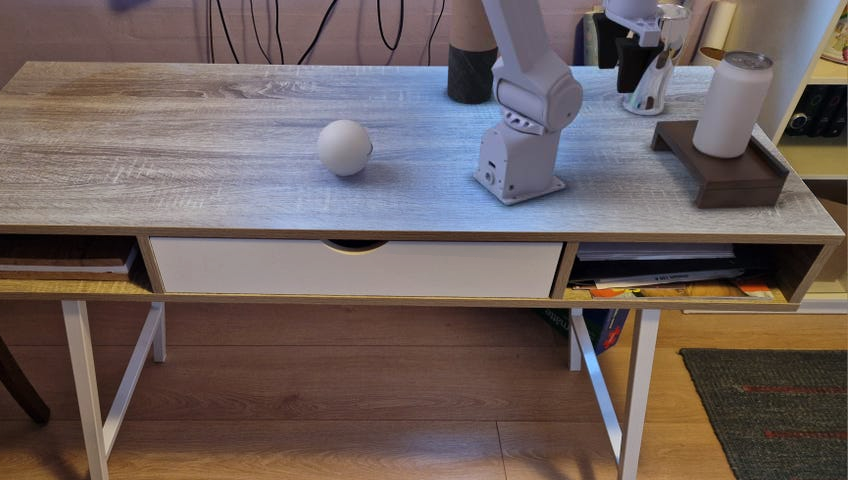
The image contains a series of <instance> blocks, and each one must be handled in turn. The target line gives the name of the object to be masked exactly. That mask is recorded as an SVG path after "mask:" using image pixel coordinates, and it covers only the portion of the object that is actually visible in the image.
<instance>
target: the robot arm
mask: <svg viewBox="0 0 848 480" xmlns="http://www.w3.org/2000/svg"><path fill="white" fill-rule="evenodd" d="M482 2H483V5H484V8H485V11H486V14H487V17H488V20H489V22H490V25H491V28H492V31H493V34H494V37H495V40H496V43H497V46H498V52H499V55H500V56H499V57H497V60H496V62H495V64H494V66H493V67H492V72H493V75H494V80H493V97H494V100H495V102H496V103H497V104H498V105H500V111H499V115H501V116H502V119H501V120H500V121H499V122H498V123H497V124H495V125H494V126H492V127H490V128H488V129H486V130H485V131H484V132H483V133H482V136H481V139H480V147H479V154H478V155H479V156H478V164H477V165H478V166H477V172H474V173H473V178H474V179H475V180H476V181H478V182H479V183H480V184H481V185H482V186H483V187H484V188H486V190H488V191H489V192H490V193H492V195H494V196H495V197H496V198H497V199H499V200H500V201H501V202H502V203H503V204H504V205H507V206H509V205H514V204H517V203H520V202H523V201H527V200H530V199H533V198H536V197H541V196H543V195H547V194H550V193H554V192H557V191H560V190H563V189H566V187H567V185H566V183H565V182H564V181H562V180H561V179H560V178H559V177H557V176H555V175H554V171H555V166H556V162H557V157H558V156H557V155H558V151H559V146H560V145H559V144H560V139H561V134H562V131H563V130H564V129H566V128H567V127H568V126H570V124H572V123H573V122H574V121H575V119H576V118H577V117H578V115H579V113H580V111H581V108H582V107H583V102H584V88H583V85H582V84H581V82H580V81H578V80H577V79H576V78H574V75H573V72H572V69H571V67H570V66H569V65H568V64H567V63H566V62H565V61H564V60H563V58H561V57H560V56H559V55H558V54H557V53H556V52H555V51H554V50H553V49H552V46H551V42H550V39H549V35H548V30H547V27H546V23H545V20H544V19H545V18H544V16H543V12H542V8H541V4H540V1H539V0H482ZM658 3H659V0H603V1H602V5H601V7H602V8H603V9H604V10H603V12H601V11H600V12H594V13H592V16H591V17H592V21H593V24H594V28H595V32H596V33H595V34H596V40H597V43H596V44H597V65H598V67H597V68H598V69H599V70H614V69H616V66H617V65H618V68H617V69H618V70H617V78H616V91H617V93H618V94H627V93H634V92H635V90H636V88H637V86H638V85H639V83H640V81H641V79H642V77H643V75H644V73H645V72H646V70H647V69H648V67H649V66H650V64H651V63H652V62H653V60H654V59H655V58H656V57H657V56H658V55H659V54H660V53H661V52H662V51H663V50H664V47H665V43H664V42H663V41H662V40H660V39H659V38H660V34H661V30H660V29H659V27H658V19H657V17H663V16H664V12H665V11H664V10H663V9H662V8H660V7H657V4H658ZM630 32H631V33H632V37H628V36H629V34H630Z"/></svg>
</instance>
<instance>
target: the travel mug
mask: <svg viewBox="0 0 848 480" xmlns="http://www.w3.org/2000/svg"><path fill="white" fill-rule="evenodd" d="M449 26H450V27H449V37H448V38H449V39H448V62H447V63H448V64H447V85H446V86H447V90H446V91H447V92H446V93H447V96H448V98H449V99H450V100H451V101H454V102H455V103H456V102H457V103H460V104H465V105H466V104H467V105H475V104H476V105H479V104H483V103H485V102H487V101H489V100H491V99H490V98H491V97H492V92H493V88H494V75H493V72H492V67H493V66H494V64H495V62H496V61H497V60H498V53H499V49H498V46H497V43H496V40H495V37H494V34H493V31H492V28H491V25H490V22H489V20H488V17H487V14H486V11H485V8H484V5H483V2H482V0H452V1H451V16H450V25H449Z"/></svg>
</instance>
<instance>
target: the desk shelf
mask: <svg viewBox="0 0 848 480" xmlns="http://www.w3.org/2000/svg"><path fill="white" fill-rule="evenodd" d="M698 121H699V119H691V120H690V119H689V120H688V119H687V120H662V121H661V120H660V121H656V125H655V129H654V132H653V135H652V139H651V143H650V148H651V150H652V151H653V152H655V151H673V152H674V154H675V155H676V157H678V159H679V160H680V161H681V163H683V164H684V166H685V167H686V168H687V169H688V171H689V172H690V173H691V174H692V175H693V177H694V178H695V179H696V180H697V181H698V183H699V184H700V187H699V189H698V190H699V191H698V193H697V195H696V199H695V202H694V204H695V206H696V208H697V209H698V210H699V209H717V208H718V209H723V208H724V209H725V208H742V207H743V208H746V207H766V206H767V207H770V206H776V205H777V203H778V200H779V198H780V195H781V194H782V193H781V192H782V191H783V188H784V186H785V184H786V181H787V179H788V177H789V175H790V172H791V171H790V170H789V168H787V167H786V166H785V164H783V163H782V162H781V161H780V160H779V159H778V158H777V157H776V156H775V155H774V154H773V153H772V152H771V151H770V150H768V148H767V147H765V146H764V144H762V143H761V142H760V141H759V140H758V139H757V138H756V137H755V136H754V135H753V133H752V134H751V137H750V139H749V142H748V145H747V147H746V150H745V152H744V153H743V154H741V155H740V156H738V157H736V158H731V159H721V158H715V157H711V156H708V155H705V154H703V153H701V152H700V151H698V150H697V149H696V148H695V146H694V144H693V137H694V134H695V131H696V127H697V124H698Z"/></svg>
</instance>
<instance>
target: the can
mask: <svg viewBox="0 0 848 480" xmlns="http://www.w3.org/2000/svg"><path fill="white" fill-rule="evenodd" d="M722 55H723V56H722V59H721V60H720V61H719V62H718V63H717V65H716V66H715V69H714V71H713V75H712V78H711V80H710V83H709V87H708V90H707V93H706V97H705V100H704V102H703V106H702V109H701V112H700V115H699V117H698V120H699V121H698V124H697V127H696V131H695V134H694V137H693V144H694V146H695V148H696V149H697V150H698V151H700V152H701V153H703V154H705V155H708V156H711V157H715V158H721V159H731V158H736V157H738V156H740V155H741V154H743V153H744V152H745V150H746V147H747V145H748V142H749V139H750V137H751V134H752V135H753V131H754V130H755V129H754V128H755V126H756V123H757V121H758V118H759V115H760V113H761V110H762V107H763V105H764V103H765V100H766V97H767V94H768V92H769V89H770V86H771V83H772V80H773V77H774V73H773V66H774V63H775V62H774V60H773V59H772V58H771V57H769V56H768V55H765V54H763V53H760V52H757V51H751V50H742V49H741V50H739V49H736V50H730V51H727V52H725V53H724V54H722Z"/></svg>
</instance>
